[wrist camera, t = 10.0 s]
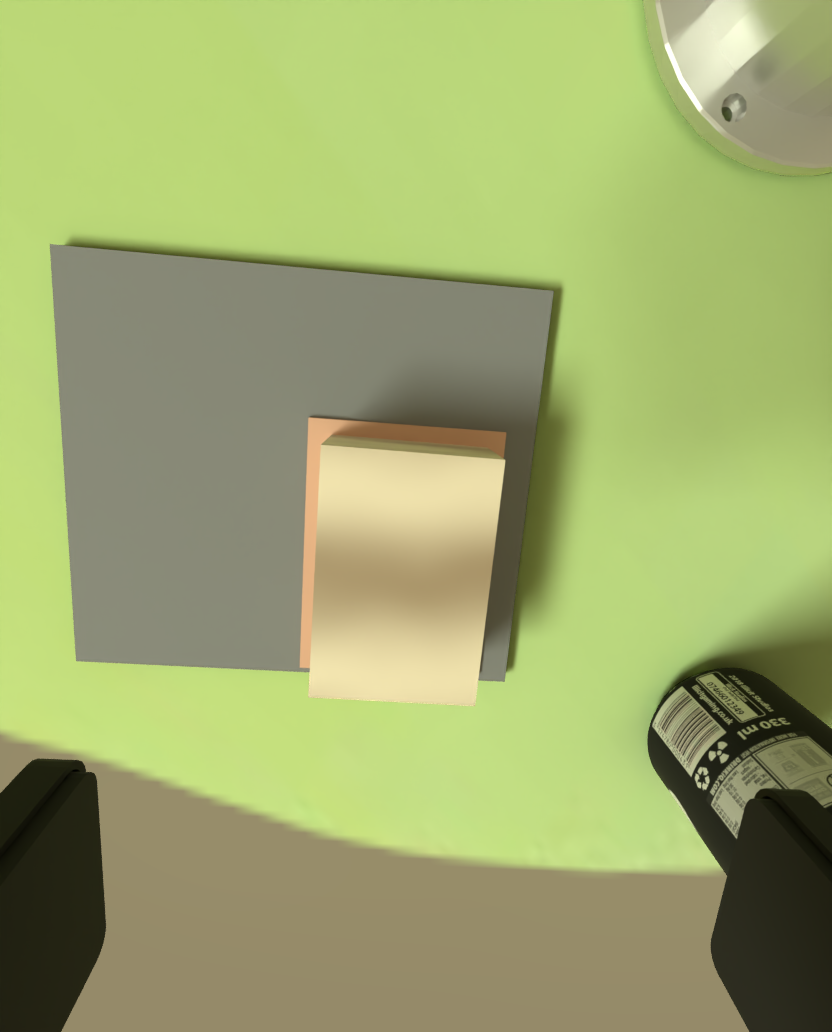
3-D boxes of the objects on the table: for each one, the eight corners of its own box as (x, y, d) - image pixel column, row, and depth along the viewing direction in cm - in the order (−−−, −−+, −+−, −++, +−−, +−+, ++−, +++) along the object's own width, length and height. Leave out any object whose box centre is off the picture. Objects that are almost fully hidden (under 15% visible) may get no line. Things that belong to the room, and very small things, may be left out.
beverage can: (760, 788, 27) (1037, 1092, 16) (628, 781, 27) (811, 1088, 15) (793, 664, 26) (1127, 897, 14) (654, 654, 25) (880, 886, 14)
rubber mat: (549, 293, 22) (555, 290, 21) (501, 674, 25) (505, 684, 24) (59, 248, 20) (46, 242, 20) (83, 654, 24) (73, 663, 23)
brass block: (462, 658, 24) (474, 705, 21) (320, 650, 24) (308, 697, 20) (487, 447, 22) (505, 459, 19) (331, 434, 22) (320, 444, 18)
